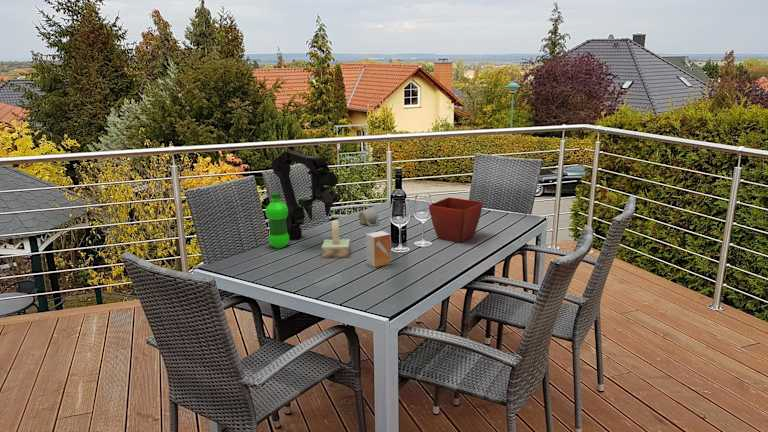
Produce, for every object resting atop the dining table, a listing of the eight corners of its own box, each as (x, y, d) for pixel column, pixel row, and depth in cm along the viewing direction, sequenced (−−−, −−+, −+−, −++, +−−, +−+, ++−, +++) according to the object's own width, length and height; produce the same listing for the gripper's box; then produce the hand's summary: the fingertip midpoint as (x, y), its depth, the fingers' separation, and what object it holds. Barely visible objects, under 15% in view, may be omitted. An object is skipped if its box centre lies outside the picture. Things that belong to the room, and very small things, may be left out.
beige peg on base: (321, 250, 236) (320, 225, 233) (324, 242, 247) (323, 218, 244) (348, 249, 236) (347, 224, 233) (350, 242, 247) (349, 217, 244)
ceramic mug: (358, 223, 291) (357, 209, 289) (371, 220, 295) (370, 207, 293) (368, 228, 282) (368, 213, 280) (381, 225, 286) (381, 211, 284)
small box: (374, 267, 223) (373, 237, 220) (366, 263, 228) (365, 233, 225) (391, 263, 228) (390, 233, 224) (382, 259, 233) (382, 230, 229)
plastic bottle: (263, 248, 252) (259, 195, 246) (278, 241, 261) (274, 190, 255) (281, 250, 248) (277, 197, 241) (295, 244, 257) (291, 192, 250)
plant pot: (463, 246, 248) (463, 210, 244) (427, 239, 260) (427, 204, 255) (483, 236, 263) (483, 201, 259) (448, 230, 274) (448, 197, 270)
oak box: (322, 257, 237) (322, 249, 236) (325, 249, 248) (325, 241, 247) (348, 257, 237) (347, 248, 236) (349, 249, 248) (349, 240, 247)
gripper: (311, 190, 237) (313, 224, 241) (344, 183, 249) (346, 216, 253) (296, 186, 245) (298, 220, 249) (329, 180, 257) (331, 212, 261)
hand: (319, 217), depth 253 cm, fingers open, 9 cm apart
